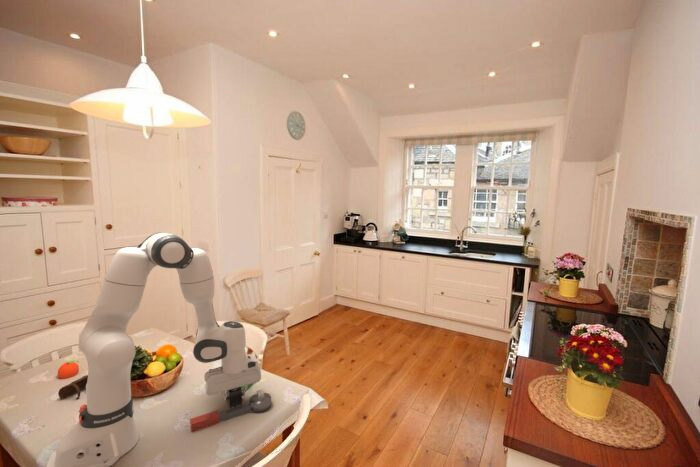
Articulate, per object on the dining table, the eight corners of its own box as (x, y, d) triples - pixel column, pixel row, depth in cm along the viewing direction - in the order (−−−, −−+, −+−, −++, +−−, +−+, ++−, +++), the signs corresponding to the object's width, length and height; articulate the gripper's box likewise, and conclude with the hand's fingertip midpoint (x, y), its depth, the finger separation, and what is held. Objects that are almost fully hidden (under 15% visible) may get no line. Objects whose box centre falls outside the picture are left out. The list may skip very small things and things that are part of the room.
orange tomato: (73, 371, 144) (72, 356, 144) (86, 373, 143) (85, 358, 142) (53, 381, 137) (52, 365, 136) (67, 383, 135) (65, 367, 135)
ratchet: (192, 436, 107) (191, 419, 107) (189, 421, 114) (188, 405, 113) (274, 408, 122) (273, 393, 121) (267, 397, 129) (267, 383, 128)
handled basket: (58, 402, 123) (56, 385, 123) (90, 385, 134) (89, 370, 134) (91, 413, 118) (89, 395, 117) (122, 395, 129) (121, 378, 128)
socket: (229, 408, 122) (229, 392, 121) (227, 401, 126) (226, 386, 125) (242, 404, 124) (241, 388, 124) (239, 397, 128) (239, 382, 127)
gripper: (205, 374, 115) (206, 411, 117) (262, 360, 126) (262, 394, 127) (203, 366, 121) (204, 401, 122) (257, 354, 131) (258, 386, 133)
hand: (234, 397), depth 125 cm, fingers closed on socket, 5 cm apart
